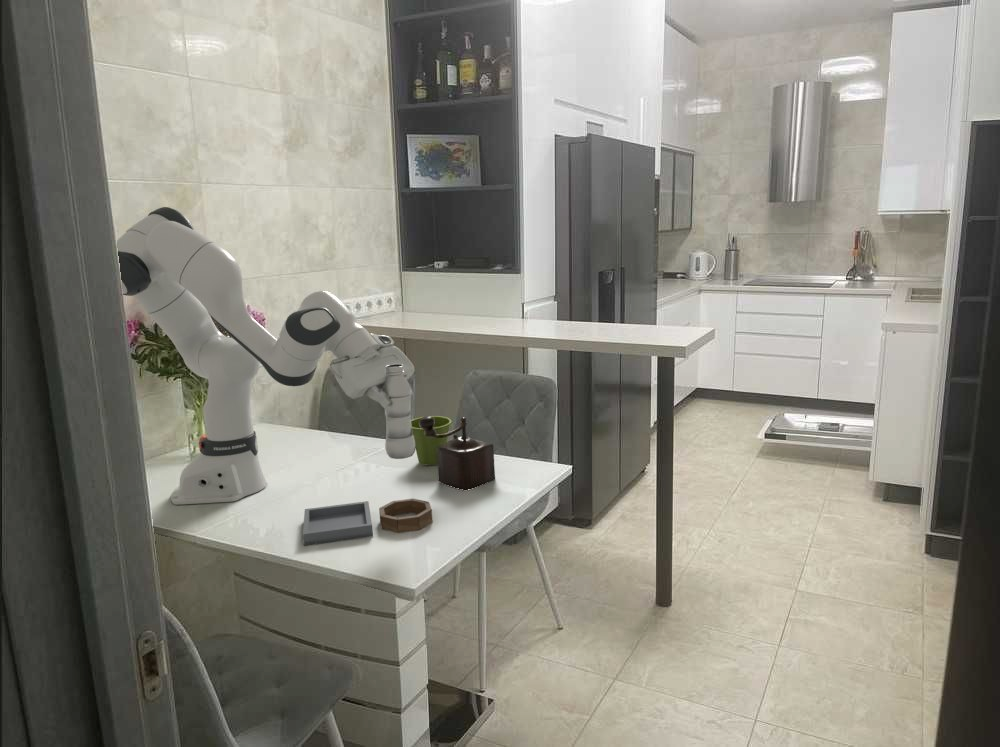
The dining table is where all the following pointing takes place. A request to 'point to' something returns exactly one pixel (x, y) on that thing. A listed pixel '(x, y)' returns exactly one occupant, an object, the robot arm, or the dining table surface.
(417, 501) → the walnut collar
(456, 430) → the manual coffee grinder
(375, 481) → the dining table surface
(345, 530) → the charcoal tray
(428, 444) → the plant pot
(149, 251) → the robot arm
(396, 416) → the plastic bottle
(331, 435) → the dining table surface
